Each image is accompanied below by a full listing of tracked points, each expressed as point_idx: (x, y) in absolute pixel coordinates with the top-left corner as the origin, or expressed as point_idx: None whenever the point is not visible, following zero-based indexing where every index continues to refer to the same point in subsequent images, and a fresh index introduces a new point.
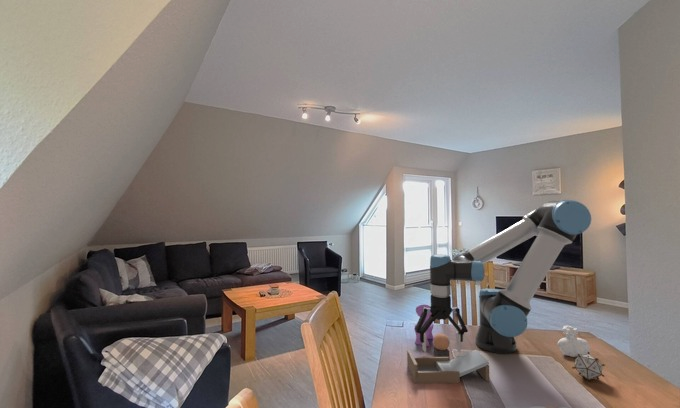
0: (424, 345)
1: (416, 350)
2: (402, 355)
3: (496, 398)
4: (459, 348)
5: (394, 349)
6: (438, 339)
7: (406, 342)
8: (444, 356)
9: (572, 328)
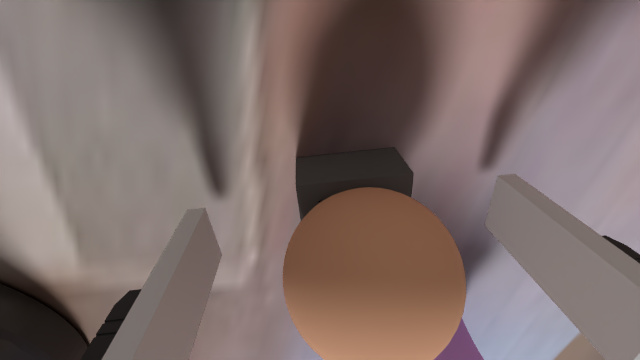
0: (560, 209)
1: (492, 241)
2: (632, 167)
3: None
4: (188, 227)
5: (625, 240)
6: (445, 270)
7: (500, 317)
8: (338, 158)
9: None
